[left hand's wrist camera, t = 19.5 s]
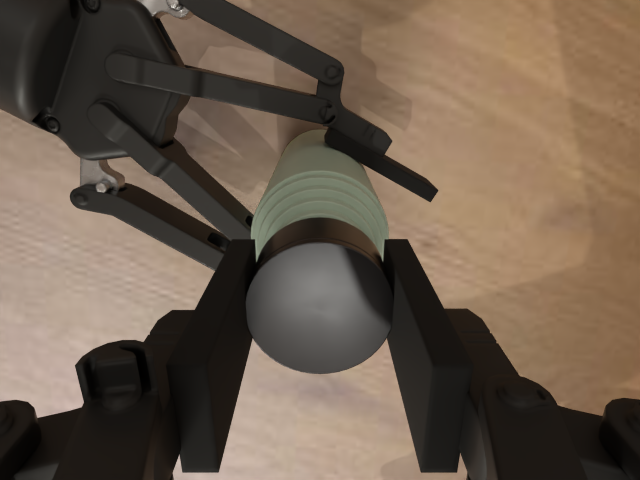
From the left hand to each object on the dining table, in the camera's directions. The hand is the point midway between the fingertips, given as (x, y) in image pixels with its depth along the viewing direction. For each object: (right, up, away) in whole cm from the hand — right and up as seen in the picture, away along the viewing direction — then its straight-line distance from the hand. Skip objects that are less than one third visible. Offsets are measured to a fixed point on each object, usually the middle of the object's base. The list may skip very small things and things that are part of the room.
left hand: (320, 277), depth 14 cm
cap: (0, -1, -2) cm, 2 cm away
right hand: (+4, +1, +11) cm, 12 cm away
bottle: (0, +6, +16) cm, 17 cm away
